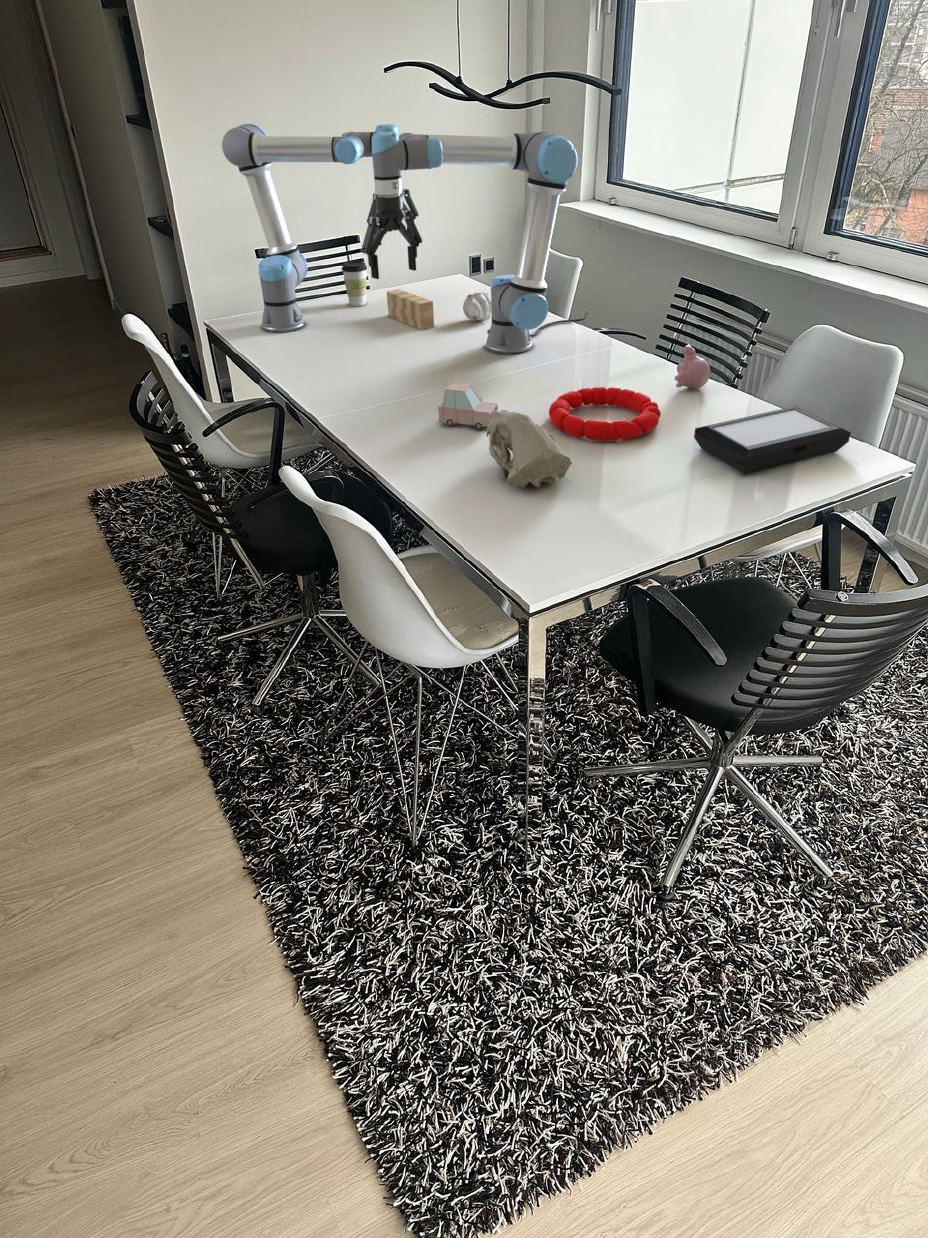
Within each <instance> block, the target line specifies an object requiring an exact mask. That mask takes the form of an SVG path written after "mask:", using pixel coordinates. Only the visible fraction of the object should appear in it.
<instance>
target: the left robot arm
mask: <svg viewBox="0 0 928 1238" xmlns="http://www.w3.org/2000/svg"><path fill="white" fill-rule="evenodd" d="M381 132H395V133H397V134H398V135H399V129H398V126H397V125H396V124H392V123H385V124H378V125H376V126H375V130H374V131H348V132H346V131H345V132H343V133H341V136H295V135H294V136H291V135H290V136H289V135H288V136H286V135H285V136H283V135H282V136H279V135H278V136H277V135H275V136H272V135H271V136H270V135H269V136H268V134H267V132H266V131H265V130H264V129H263V128H262V127H260V126H259V125H257V124H254V123H243V124H241V125H238V126H236V127H232V128H231V129H229V130H227V131H226V132H225V134H224V135H223V137H222V141H221V149H222V153H223V156H224V158H226V160H227V161H228V162H229V163H230V164H232V165H233V166H236V167H237V168H238V171H239V174H241V175H243V176H244V177H245V179H246V181H247V185H248V188H249V191H250V193H251V196H252V200H253V203H254V206H255V209H256V212H257V214H258V218H259V221H260V224H261V227H262V230H263V233H264V237H265V240H266V243H267V245H268V249H267V252H266V257H265V258H263V259H261V260H260V261H259V262H258V275H259V281H260V287H261V292H262V293H261V294H262V299H263V313H262V319H261V326H262V330H264V331H265V332H271V333H286V332H293V331H296V330H297V331H298V330H300V329H302V328H304V326H305V319H304V317H303V314H302V312H301V310H300V307H299V306H298V305H299V304H298V303H297V295H296V294H297V293H296V287H298V286H299V285H301V284H302V283H303V282H304V280H305V278H306V277H307V274H308V268H309V267H308V262H307V259H306V258H305V256H304V255H303V254H302V253H301V252H300V250H299V246H298V244H297V243H295V242H293V241H292V238H291V235H290V231H289V229H288V225H287V222H286V219H285V216H284V213H283V209H282V206H281V203H280V200H279V196H278V193H277V190H276V187H275V183H274V180H273V177H272V172H271V167H272V165H273V163H342V164H344V165H352V164H355V163H356V162H358V161H359V160H360V159H362V158H372V136H373V135H374V134H376V133H381ZM402 184H403V183H402V181H401V187H403V185H402ZM410 192H411V191H410V189H409V188H402V193H401V194H400V195H401V196H402V197H403V198H404V200H405V201H403V199H402V201H403V209H402V212H404V210H408V211H411V212H412V218H413V221H414V222H415V220H416V219H417V217H419V215H420V214H419V212H418V210H417V208H416V205H415V203H414V201H413V199H412V196H411V193H410ZM376 197H377V195H376V194H375V192H374V193H373V194H372V202H371V205H370V208H369V212H368V215H367V219H366V223H367V224H368V217H369V216H371V217H377V216H378V212H377V209H376ZM378 225H379V224H378ZM378 225H377V226H376V229H377V227H378ZM406 229H407V230H408V232H409V233H410V231H409V228H408V226H407V225H406ZM376 232H377V230H376V231H375V234H376ZM375 234H374V236H375ZM410 234H411V233H410ZM379 246H382V242H381V243H380V245H379Z"/></svg>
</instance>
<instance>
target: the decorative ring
mask: <svg viewBox="0 0 928 1238" xmlns="http://www.w3.org/2000/svg"><path fill="white" fill-rule="evenodd" d="M583 405H584V406H586V407H587V406H591V405H593V406H604V405H608V406H614V407H619V408H624V409H628V410H632V411H635V412H636V413H638V414H639V415H637V416H635V417H632V418H631V419H630V420H625V419H624V420H623V419H622V420H614V421H611V422H609V421H607V420H606V421H605V420H593V419H587V420H586V421H585V419H584V418H582V417H579V416H577V415H573V414H571V413H570V410H571V409H579V408H581V407H582V406H583ZM548 416H549V419H550V422H551V423H552V425H553V426H554V427H555V428H556V429H558V430H559V431H561V432H563V433H567V434H568V435H569V436H573V437H576V438H580V439H582V438H583V437H585V438H586V439H587V440H591V441H601V442H602V441H603V442H608V441H609V442H610V441H611V442H612V441H615V442H616V441H618V440H630V439H634V438H638V437H641V436H642V434H647V433H650V432H651V431H653V430H654V429H655V428H656V427H657V426H658V424H659V422H660V421H659V420H660V417H661V410H660V408H659V405H658V403H657V402H656V401H652V399H651V397H649V396H648V395H646V394H644V393H642V392H635V391H634V390H632V389H628V388H624V389H622V388H620V387H613V386H612V387H611V386H610V387H608V388H606V387H604V386H594V387H585V388H584V387H583V388H580V389H578V390H571V391H568V392H565V393H563V394H561V395H560V396H558V397H557V398H556V400H554V401H552V403H551V404H550V407H549V409H548Z"/></svg>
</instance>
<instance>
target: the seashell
mask: <svg viewBox="0 0 928 1238" xmlns="http://www.w3.org/2000/svg"><path fill="white" fill-rule="evenodd" d="M462 311H463V315H465V317H466V318H467V319H468V320H470V321H472V322H476V321H487V320H488V319H489V318H490V317H492V316H491V295H489V294H488V293H484V292H474V293H472V294H471V293H470V294H467V296H466V297H465V299H464V300H463V305H462Z"/></svg>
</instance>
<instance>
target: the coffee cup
mask: <svg viewBox="0 0 928 1238" xmlns="http://www.w3.org/2000/svg"><path fill="white" fill-rule="evenodd" d="M367 270H368V266H367V264H366V262H365V261H359V260H353V261H351V260H350V261H346V262H344V263H342V266H341V271H342V273H343V280H344V285H345V289H346V295H347V298H348V302H349V306H351V307H362V306H365V305H366V303H367V301H366V300H367V299H366V298H367Z"/></svg>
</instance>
